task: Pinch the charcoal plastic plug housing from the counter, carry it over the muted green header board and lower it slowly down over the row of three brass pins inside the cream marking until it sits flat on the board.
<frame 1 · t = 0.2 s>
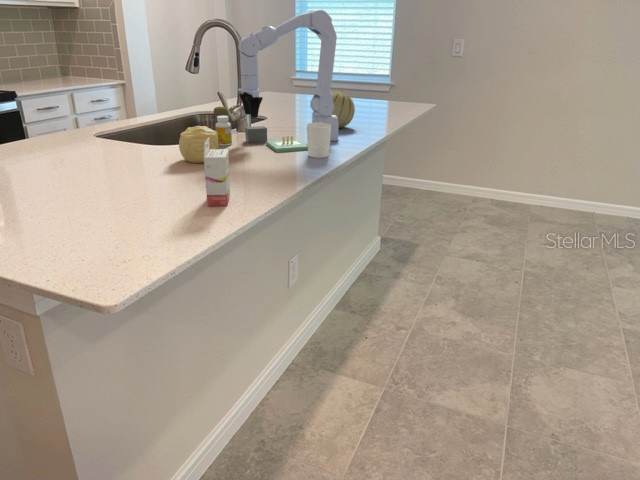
hand: (251, 115, 174), 10 cm above the countertop, fingers open, 7 cm apart
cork: (222, 137, 187), on the countertop
header board: (287, 147, 173), on the countertop
pale yellow rounded piece: (199, 161, 154), on the countertop
white cup: (318, 156, 163), on the countertop
supplement bottle: (224, 144, 175), on the countertop
ink cartridge box: (219, 201, 120), on the countertop
plug housing: (256, 141, 180), on the countertop
ribbed yellow gourd: (336, 128, 208), on the countertop
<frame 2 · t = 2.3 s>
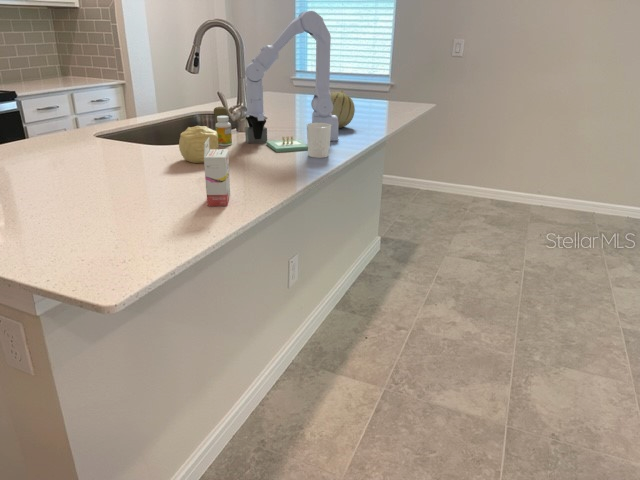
hand: (256, 137, 180), 1 cm above the countertop, fingers closed on plug housing, 4 cm apart
plug housing: (256, 141, 180), on the countertop, touching gripper
everything else where it was.
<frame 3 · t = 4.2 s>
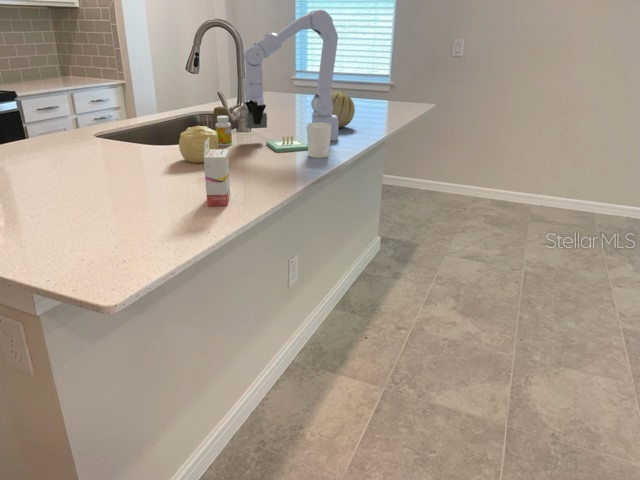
hand: (255, 123, 178), 7 cm above the countertop, fingers closed on plug housing, 4 cm apart
plug housing: (256, 127, 178), point 5 cm above the countertop, touching gripper
everything else where it was.
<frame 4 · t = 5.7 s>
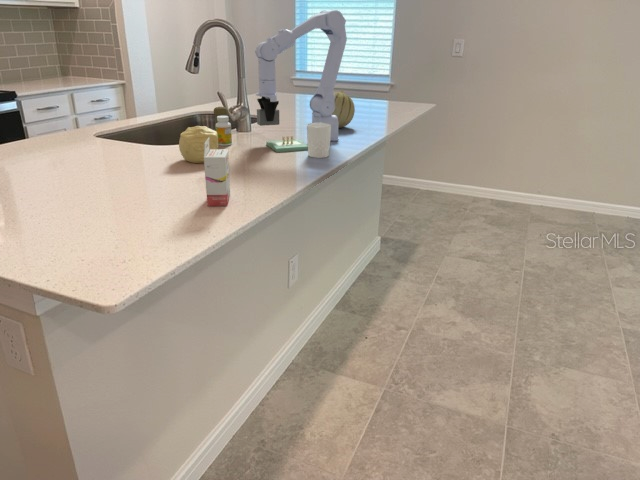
hand: (268, 120, 174), 8 cm above the countertop, fingers closed on plug housing, 4 cm apart
plug housing: (268, 124, 175), point 7 cm above the countertop, touching gripper
everything else where it was.
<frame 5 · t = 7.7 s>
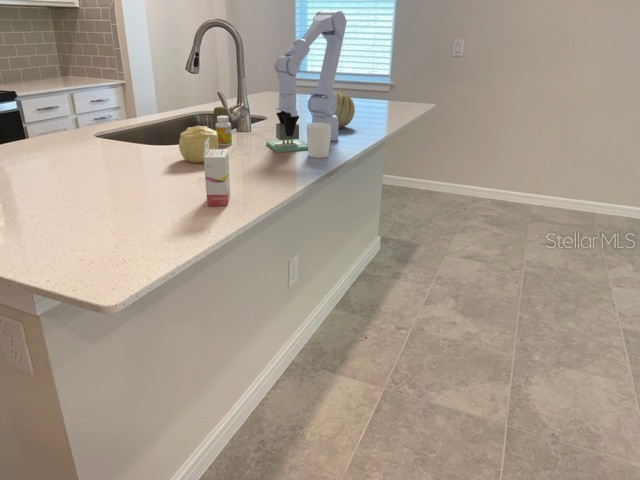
hand: (287, 134, 171), 4 cm above the countertop, fingers closed on plug housing, 4 cm apart
plug housing: (287, 138, 172), point 3 cm above the countertop, touching gripper
everything else where it was.
when the fingers open (3 cm above the countertop, at t = 9.2 s): plug housing stays where it is, resting on header board.
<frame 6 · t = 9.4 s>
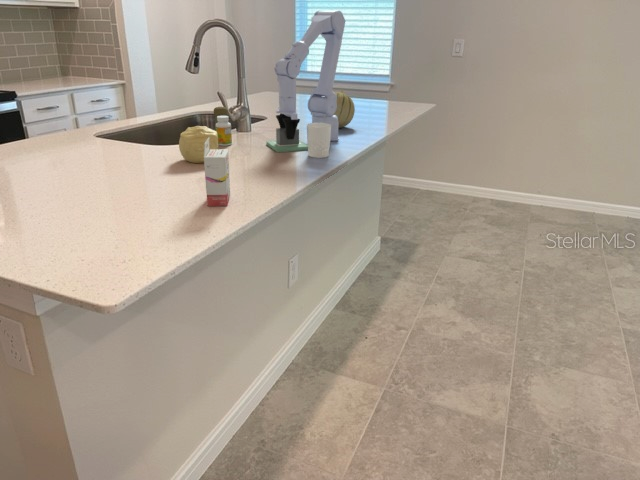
hand: (287, 137, 172), 3 cm above the countertop, fingers open, 5 cm apart
plug housing: (287, 143, 173), point 1 cm above the countertop, touching header board
everything else where it was.
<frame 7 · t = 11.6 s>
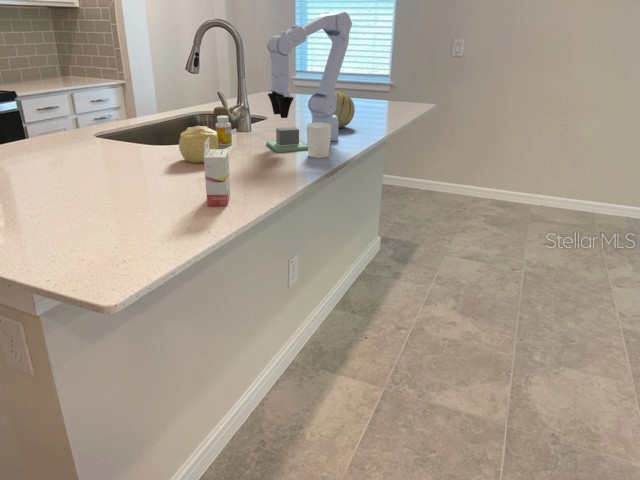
hand: (280, 116, 170), 10 cm above the countertop, fingers open, 7 cm apart
nothing on the countertop moved.
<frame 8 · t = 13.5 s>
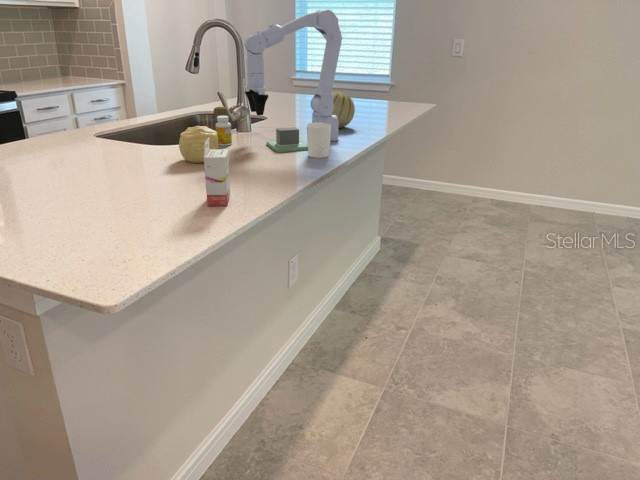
hand: (257, 113, 175), 10 cm above the countertop, fingers open, 7 cm apart
nothing on the countertop moved.
at the end: plug housing 0.0 cm off-centre on the header board, point 1.3 cm above the header board's base; plug housing tilted 0°; the gripper is holding nothing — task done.
